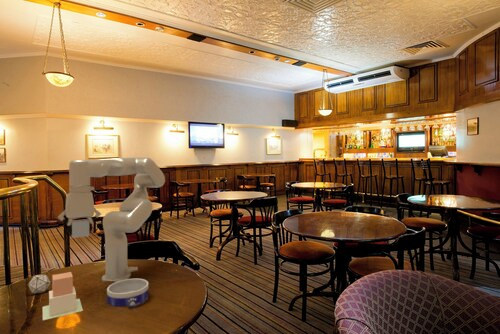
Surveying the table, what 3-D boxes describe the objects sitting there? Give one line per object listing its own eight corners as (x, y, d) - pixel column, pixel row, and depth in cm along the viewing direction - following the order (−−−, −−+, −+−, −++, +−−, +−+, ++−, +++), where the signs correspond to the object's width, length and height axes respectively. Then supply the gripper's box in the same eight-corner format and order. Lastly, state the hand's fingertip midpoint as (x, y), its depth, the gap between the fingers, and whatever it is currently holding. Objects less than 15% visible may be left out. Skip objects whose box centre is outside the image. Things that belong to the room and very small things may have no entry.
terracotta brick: (71, 287, 115) (71, 271, 115) (72, 293, 110) (72, 276, 110) (52, 291, 112) (52, 275, 112) (53, 297, 107) (53, 280, 107)
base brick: (74, 301, 116) (73, 286, 116) (76, 309, 110) (75, 293, 110) (49, 307, 112) (49, 291, 112) (49, 316, 105) (49, 299, 105)
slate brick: (87, 233, 128) (87, 219, 128) (89, 236, 123) (89, 221, 123) (71, 235, 125) (71, 220, 125) (72, 238, 120) (72, 222, 120)
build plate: (79, 301, 119) (79, 298, 119) (82, 313, 109) (82, 310, 109) (42, 309, 112) (42, 306, 112) (42, 323, 102) (42, 320, 102)
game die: (40, 303, 125) (35, 290, 119) (24, 294, 127) (18, 281, 121) (58, 286, 132) (54, 272, 126) (43, 278, 134) (38, 264, 128)
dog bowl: (117, 313, 109) (117, 297, 109) (100, 301, 120) (100, 285, 120) (155, 300, 120) (155, 284, 120) (137, 289, 131) (137, 275, 131)
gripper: (101, 188, 132) (101, 229, 132) (54, 190, 122) (54, 234, 122) (104, 189, 126) (104, 232, 126) (55, 191, 116) (55, 238, 116)
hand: (80, 233), depth 124 cm, fingers closed on slate brick, 6 cm apart
